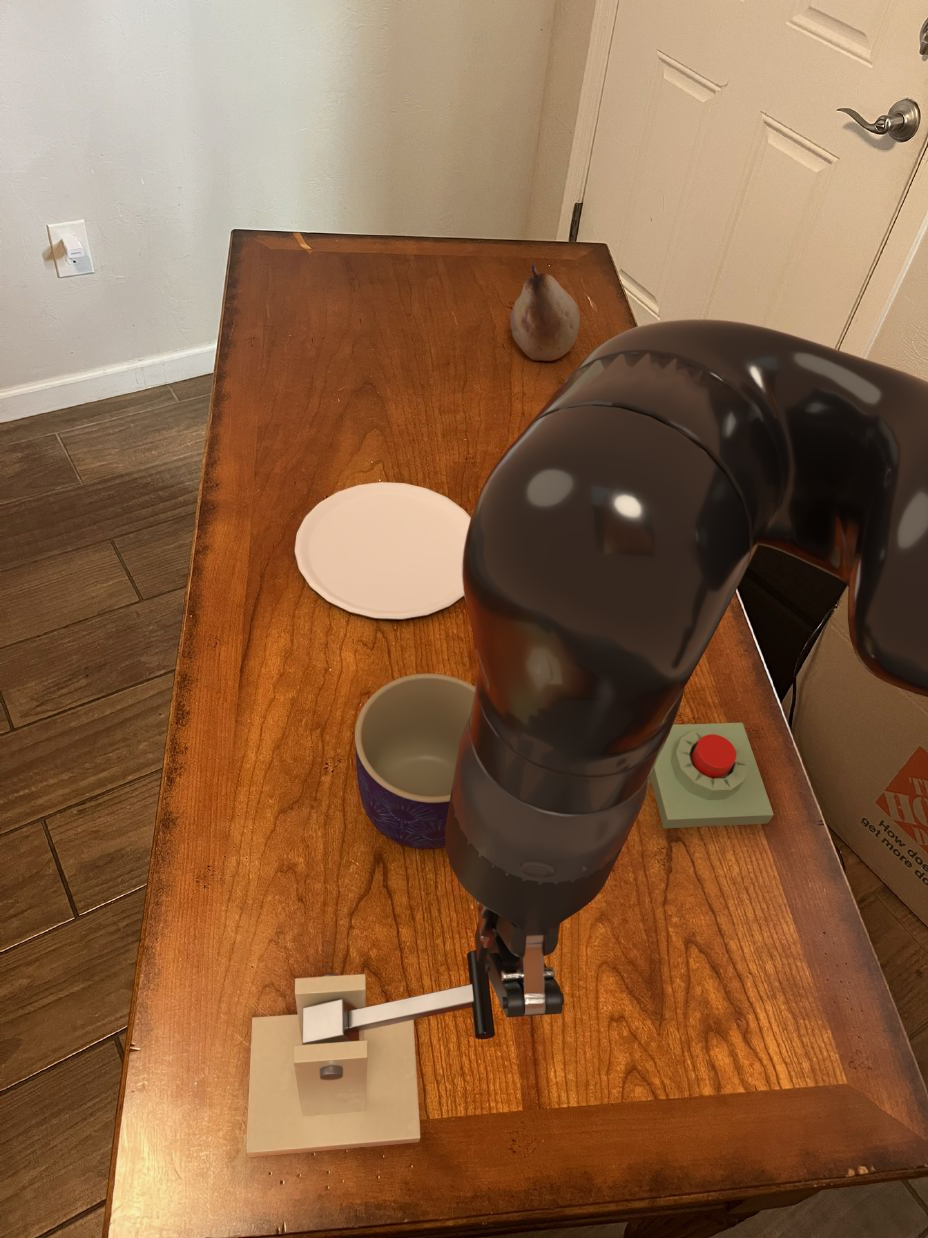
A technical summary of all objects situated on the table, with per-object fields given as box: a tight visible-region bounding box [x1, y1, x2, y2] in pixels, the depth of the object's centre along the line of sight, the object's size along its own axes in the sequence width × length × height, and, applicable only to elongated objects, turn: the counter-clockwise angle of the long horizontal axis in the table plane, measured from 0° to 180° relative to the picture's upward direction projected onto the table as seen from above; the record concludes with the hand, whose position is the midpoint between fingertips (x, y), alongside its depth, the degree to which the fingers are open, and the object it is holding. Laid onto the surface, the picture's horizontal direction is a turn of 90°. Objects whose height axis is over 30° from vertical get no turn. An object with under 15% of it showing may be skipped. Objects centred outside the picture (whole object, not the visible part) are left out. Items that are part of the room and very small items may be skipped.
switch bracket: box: [245, 973, 421, 1158], centre depth 63 cm, size 12×9×15 cm
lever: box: [302, 949, 496, 1045], centre depth 58 cm, size 12×5×2 cm, turn 95°
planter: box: [354, 673, 476, 850], centre depth 80 cm, size 12×12×11 cm
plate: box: [294, 481, 471, 621], centre depth 103 cm, size 21×21×1 cm
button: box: [692, 734, 736, 778], centre depth 86 cm, size 4×4×2 cm
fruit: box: [510, 265, 581, 362], centre depth 127 cm, size 10×9×12 cm
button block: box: [650, 722, 775, 829], centre depth 87 cm, size 10×10×4 cm
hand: (494, 949), depth 52 cm, fingers closed
